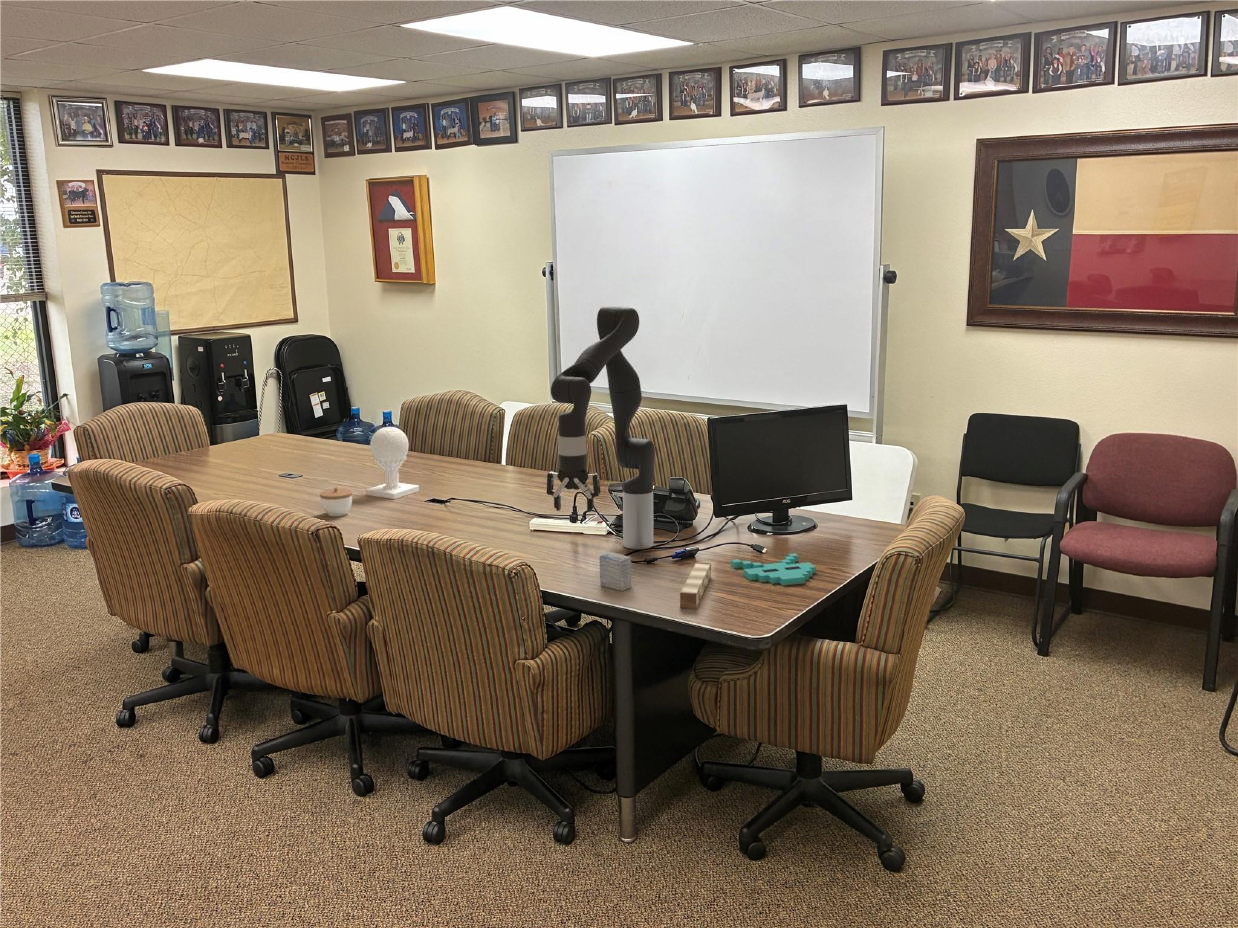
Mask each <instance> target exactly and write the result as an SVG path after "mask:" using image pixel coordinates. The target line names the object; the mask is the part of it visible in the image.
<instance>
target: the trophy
mask: <svg viewBox="0 0 1238 928" xmlns="http://www.w3.org/2000/svg"><path fill="white" fill-rule="evenodd" d="M369 445H370V451H371V454H372V456H373V458H374V461H375V463H376V464H378V465H379V467H380V468H382V469H383V470H384V482H385V483H383V484H379V485H376V486H374V487H370V488H367V489H365V494H366V496H371V497H378V498H385V499H391V500H396V499H399V498H402V497H405V496H408V495H411V494H414V493H417V492H419V491H420V485H418V484H417V485H416V484H409V483H401V482H400V480H399V479H400V478H399V469H400V467H402V465H403V464H404V462H405V461H406V460H407V459H408V457H407V454H408V451H409V447H410V446H409V445H410V443H409V439H408V437H407V435H406V434H405V432H403V430H401V429H399V428H397V427H394V426H384V427H381V428H379V429H378V430H377V431H375V433H374V434H373V435H372V436H371V439H370V444H369Z"/></svg>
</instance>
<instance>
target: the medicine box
mask: <svg viewBox="0 0 1238 928" xmlns="http://www.w3.org/2000/svg"><path fill="white" fill-rule="evenodd" d="M599 582H600V583H599V585H600V586H602V587H605V588H609V589H613V590H616V591H619V592H623V591H626V590H628V589H631V588H632V584H633V582H632V557H631V556H627V555H624V554H621V553H620V554H619V553H616V552H612V551H611V552H609V551H608V552H606V553H603V554H601V555H599Z"/></svg>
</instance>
